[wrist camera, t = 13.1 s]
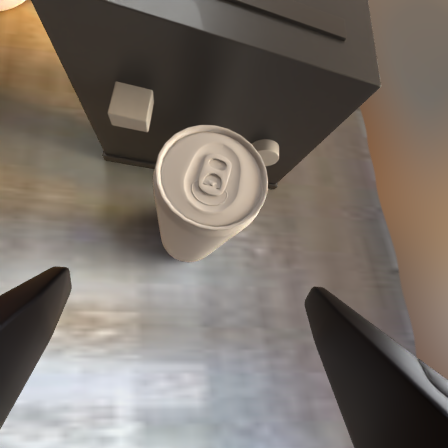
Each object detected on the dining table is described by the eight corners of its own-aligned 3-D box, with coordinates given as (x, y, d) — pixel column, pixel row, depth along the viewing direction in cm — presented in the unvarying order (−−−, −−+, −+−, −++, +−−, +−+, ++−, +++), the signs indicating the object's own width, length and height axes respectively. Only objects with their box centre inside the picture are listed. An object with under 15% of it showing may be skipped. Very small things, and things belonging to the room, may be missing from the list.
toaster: (274, 206, 23) (393, 119, 11) (99, 179, 20) (-13, 7, 7) (274, 108, 26) (366, -44, 14) (126, 70, 23) (78, -172, 11)
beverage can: (153, 254, 19) (130, 210, 8) (171, 203, 20) (174, 104, 9) (207, 269, 20) (259, 249, 8) (221, 219, 21) (280, 146, 10)
